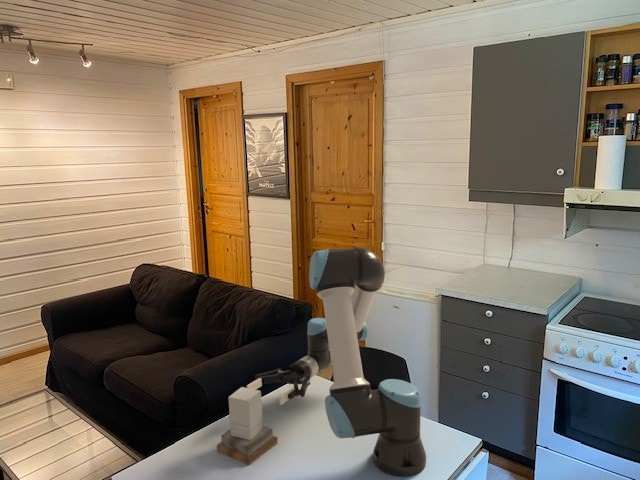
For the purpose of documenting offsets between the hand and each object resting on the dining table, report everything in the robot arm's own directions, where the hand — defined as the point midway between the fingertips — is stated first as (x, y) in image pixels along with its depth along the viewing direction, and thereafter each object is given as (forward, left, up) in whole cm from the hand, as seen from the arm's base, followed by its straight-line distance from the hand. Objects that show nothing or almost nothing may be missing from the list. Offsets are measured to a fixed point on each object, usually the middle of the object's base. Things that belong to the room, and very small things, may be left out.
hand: (263, 395), depth 154 cm
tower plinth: (0, +8, -13) cm, 16 cm away
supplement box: (0, +8, -9) cm, 12 cm away
